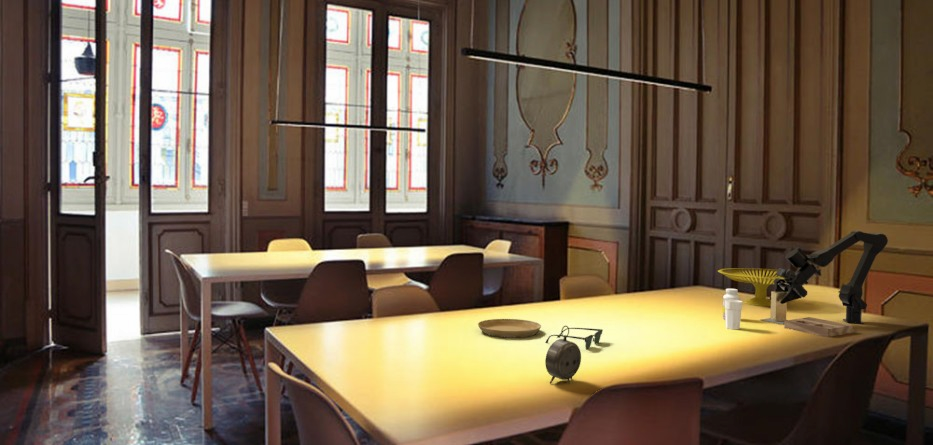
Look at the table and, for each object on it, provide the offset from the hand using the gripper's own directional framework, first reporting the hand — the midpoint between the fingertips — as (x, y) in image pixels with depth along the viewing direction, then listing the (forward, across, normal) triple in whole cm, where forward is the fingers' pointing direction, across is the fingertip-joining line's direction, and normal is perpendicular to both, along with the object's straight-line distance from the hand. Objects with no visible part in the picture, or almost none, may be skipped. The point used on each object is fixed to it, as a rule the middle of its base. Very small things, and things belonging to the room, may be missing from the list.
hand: (775, 301), depth 281 cm
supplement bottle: (+18, -4, -6) cm, 20 cm away
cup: (+23, +14, -11) cm, 29 cm away
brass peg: (+5, 0, +7) cm, 8 cm away
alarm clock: (+79, +90, -67) cm, 138 cm away
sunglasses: (+72, +42, -59) cm, 102 cm away
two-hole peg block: (0, +17, +12) cm, 21 cm away
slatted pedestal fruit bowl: (-4, -45, +16) cm, 48 cm away
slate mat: (+5, 0, +7) cm, 9 cm away
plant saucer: (+87, +25, -74) cm, 117 cm away
